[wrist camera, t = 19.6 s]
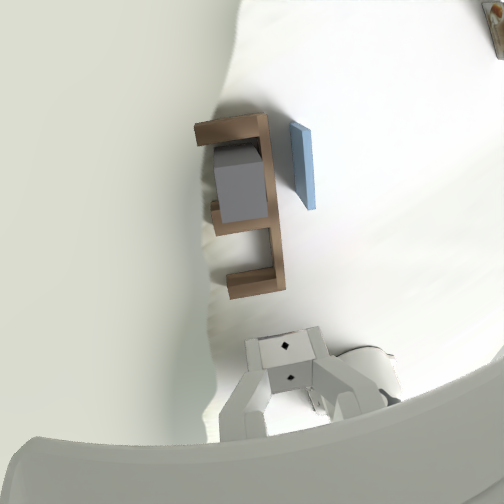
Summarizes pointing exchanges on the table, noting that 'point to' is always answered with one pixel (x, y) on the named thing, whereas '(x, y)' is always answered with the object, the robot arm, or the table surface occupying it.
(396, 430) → the robot arm
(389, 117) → the table surface
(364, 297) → the table surface
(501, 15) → the coffee box
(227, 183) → the plug
